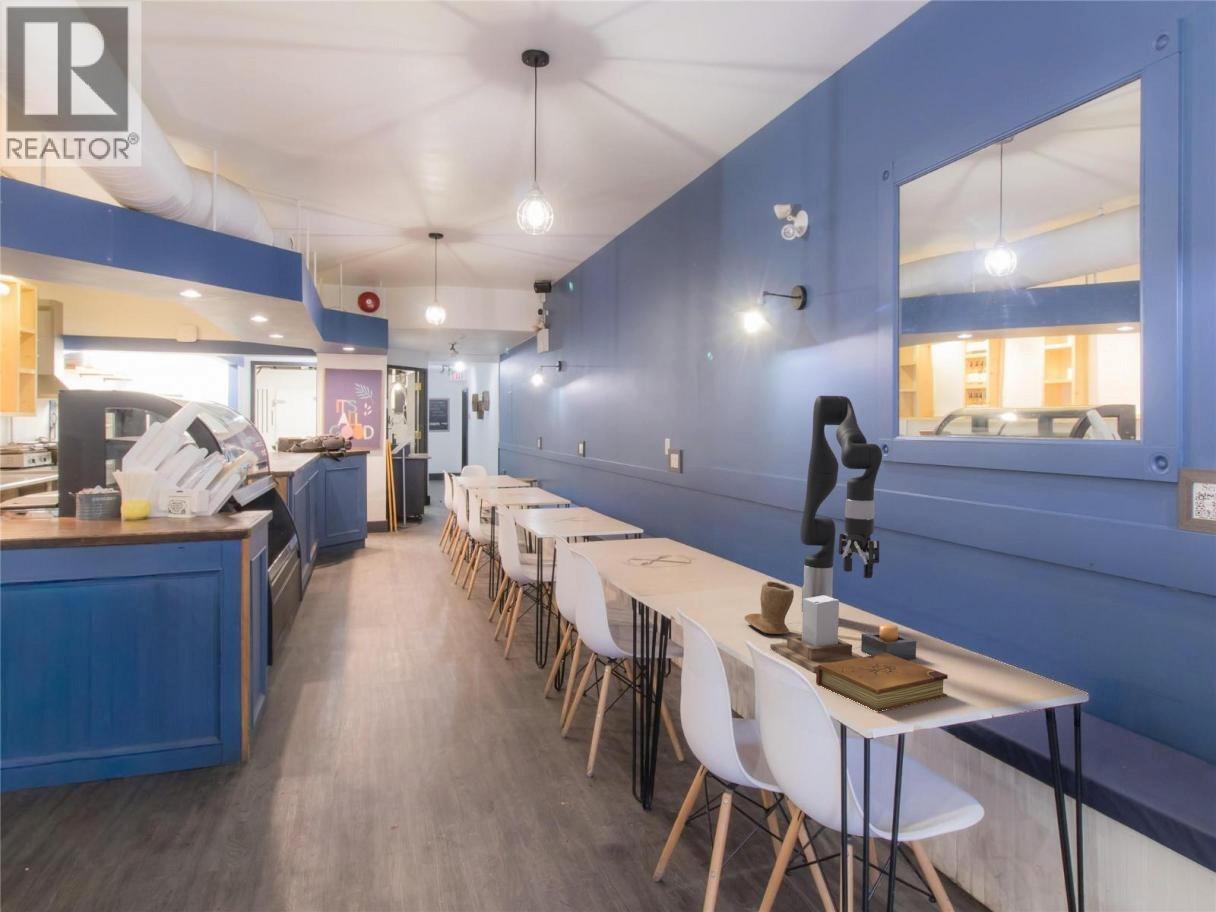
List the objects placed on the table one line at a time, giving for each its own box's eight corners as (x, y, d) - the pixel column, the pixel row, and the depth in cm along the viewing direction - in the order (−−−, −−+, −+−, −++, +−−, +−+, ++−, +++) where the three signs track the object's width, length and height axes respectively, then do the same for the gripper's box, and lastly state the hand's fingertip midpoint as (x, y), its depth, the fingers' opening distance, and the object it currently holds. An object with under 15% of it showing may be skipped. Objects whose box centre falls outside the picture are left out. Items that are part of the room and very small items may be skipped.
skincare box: (822, 647, 194) (824, 594, 194) (839, 653, 189) (840, 599, 188) (800, 650, 190) (801, 597, 190) (816, 657, 185) (817, 602, 185)
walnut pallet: (770, 649, 196) (770, 633, 196) (823, 643, 202) (823, 628, 202) (813, 672, 177) (814, 655, 177) (870, 665, 183) (871, 649, 183)
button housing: (861, 651, 196) (861, 633, 196) (889, 648, 199) (890, 631, 199) (886, 662, 186) (886, 644, 186) (915, 659, 190) (916, 641, 190)
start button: (875, 639, 194) (875, 625, 194) (889, 637, 196) (889, 623, 196) (887, 644, 190) (888, 629, 189) (901, 642, 191) (902, 628, 191)
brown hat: (799, 636, 210) (800, 587, 209) (762, 637, 207) (763, 588, 207) (777, 622, 225) (778, 576, 224) (742, 624, 222) (744, 577, 222)
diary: (883, 673, 179) (883, 651, 179) (946, 699, 163) (947, 674, 163) (815, 686, 169) (816, 663, 169) (876, 714, 152) (877, 688, 152)
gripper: (831, 513, 196) (830, 570, 197) (865, 519, 182) (863, 580, 183) (854, 512, 198) (852, 568, 199) (888, 519, 185) (886, 579, 185)
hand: (857, 574), depth 191 cm, fingers open, 8 cm apart
